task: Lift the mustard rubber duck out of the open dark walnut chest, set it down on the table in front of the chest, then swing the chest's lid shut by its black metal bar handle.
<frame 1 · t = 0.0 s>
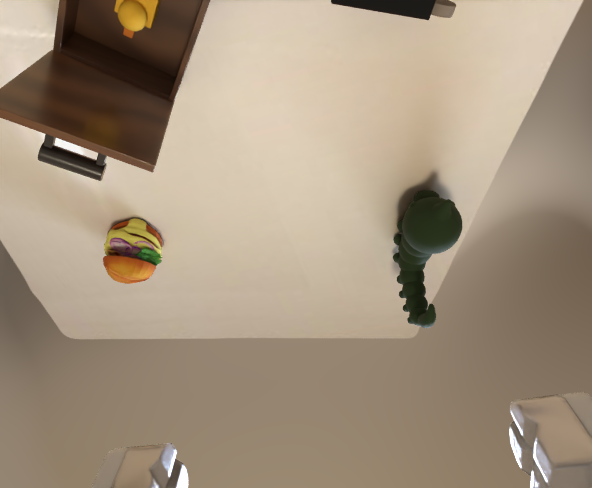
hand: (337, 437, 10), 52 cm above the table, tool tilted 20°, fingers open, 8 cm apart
lid: (93, 122, 44), point 15 cm above the table, hinge at 80.0°
cheeseburger: (137, 237, 78), on the table
toy figurine: (414, 220, 78), on the table
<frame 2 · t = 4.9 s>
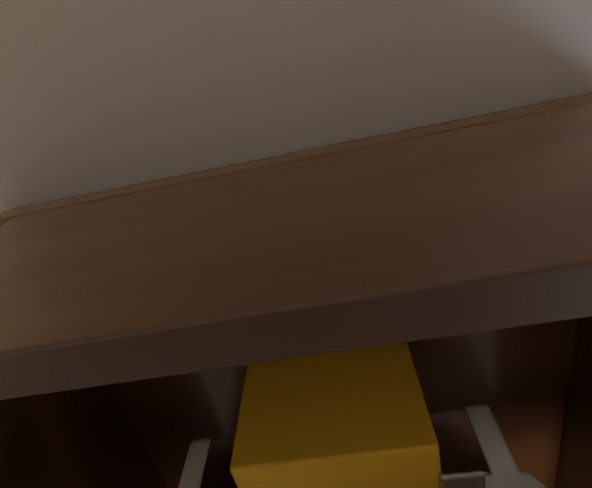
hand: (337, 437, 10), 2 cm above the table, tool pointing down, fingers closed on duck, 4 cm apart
chest: (342, 407, 13), on the table
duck: (339, 403, 12), point 1 cm above the table, touching chest, gripper
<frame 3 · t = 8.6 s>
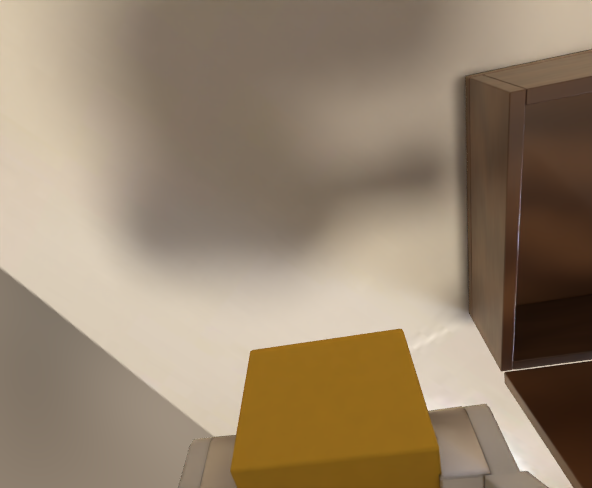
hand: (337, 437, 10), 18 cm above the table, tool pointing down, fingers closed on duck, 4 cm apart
chest: (583, 191, 26), on the table
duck: (339, 405, 12), point 16 cm above the table, touching gripper
when the fingers open (1 cm above the table, at t = 12.5 s): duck stays where it is, on the table.
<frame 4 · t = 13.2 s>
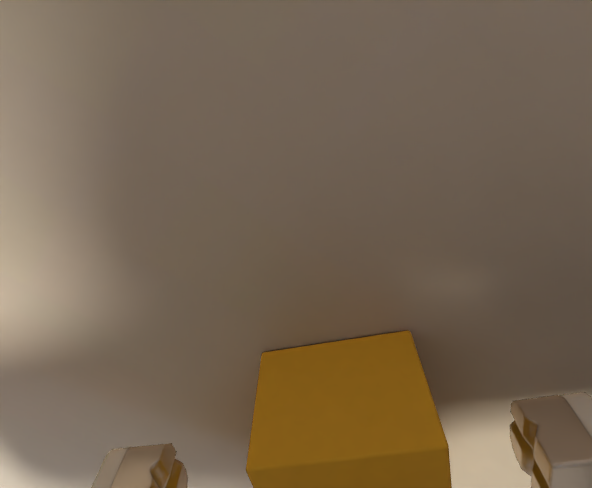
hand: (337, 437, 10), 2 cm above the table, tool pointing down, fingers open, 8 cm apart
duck: (348, 405, 12), on the table
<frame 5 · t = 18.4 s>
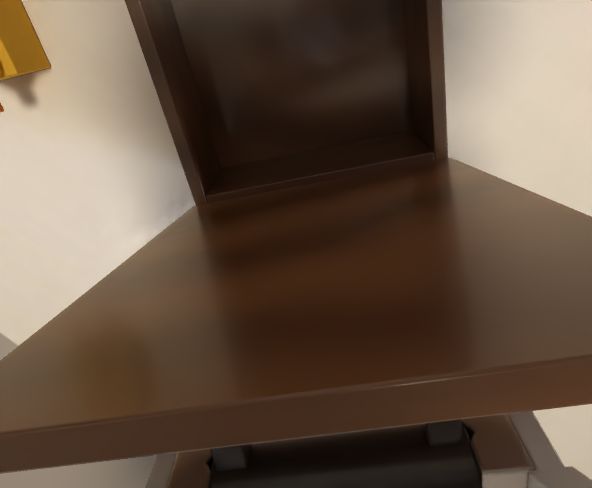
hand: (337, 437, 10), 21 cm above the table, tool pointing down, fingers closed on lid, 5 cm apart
chest: (290, 19, 24), on the table
lid: (326, 291, 15), point 15 cm above the table, hinge at 80.0°, touching gripper
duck: (0, 30, 25), on the table
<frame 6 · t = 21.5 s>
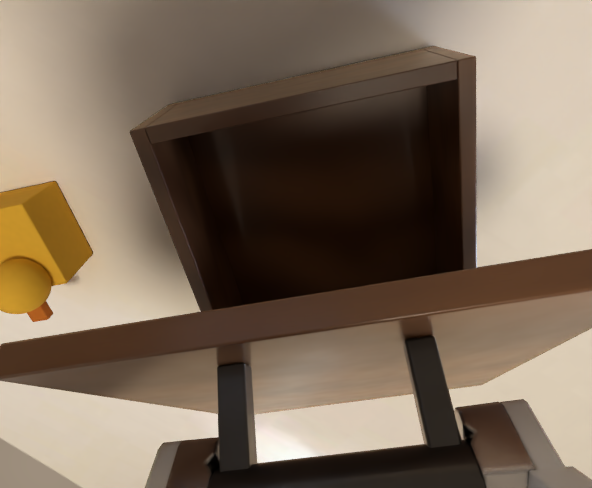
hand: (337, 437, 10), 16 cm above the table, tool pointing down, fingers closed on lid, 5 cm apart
chest: (324, 218, 25), on the table
lid: (350, 429, 15), point 13 cm above the table, hinge at 35.8°, touching gripper
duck: (45, 224, 26), on the table
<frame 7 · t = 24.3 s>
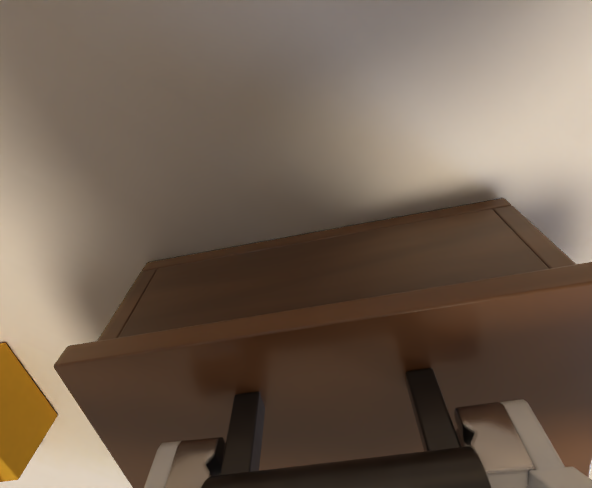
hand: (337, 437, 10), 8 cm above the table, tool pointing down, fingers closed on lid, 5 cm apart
chest: (348, 382, 20), on the table
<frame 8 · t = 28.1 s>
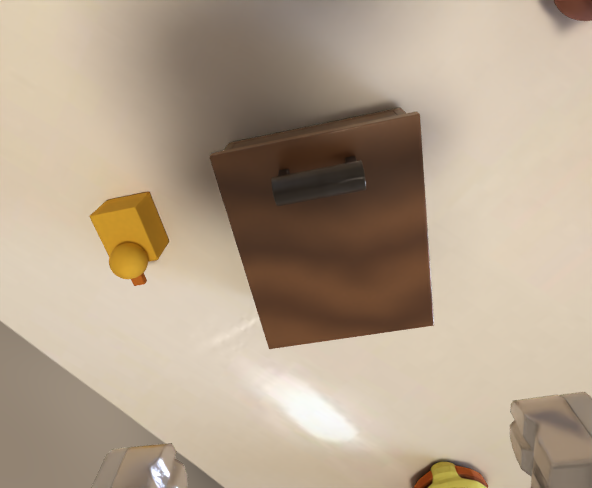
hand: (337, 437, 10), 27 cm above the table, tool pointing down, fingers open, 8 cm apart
chest: (329, 217, 37), on the table
lid: (334, 260, 30), point 8 cm above the table, hinge at -0.2°, touching chest
cheeseburger: (449, 483, 55), on the table
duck: (138, 221, 38), on the table
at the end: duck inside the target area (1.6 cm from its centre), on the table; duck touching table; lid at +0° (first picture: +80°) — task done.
